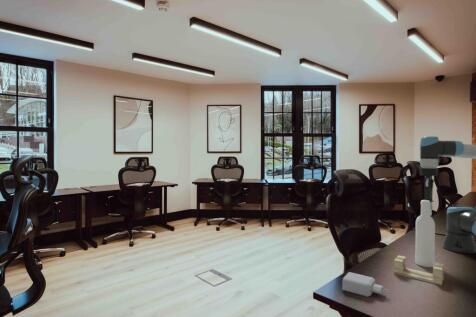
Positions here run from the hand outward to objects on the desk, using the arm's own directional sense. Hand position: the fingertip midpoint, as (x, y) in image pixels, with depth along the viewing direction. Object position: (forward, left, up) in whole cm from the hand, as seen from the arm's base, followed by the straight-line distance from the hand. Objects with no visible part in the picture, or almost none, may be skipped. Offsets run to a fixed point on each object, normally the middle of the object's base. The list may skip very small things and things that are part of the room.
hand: (428, 214), depth 148 cm
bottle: (+8, +8, -22) cm, 24 cm away
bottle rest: (+20, +21, -22) cm, 36 cm away
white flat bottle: (+50, +32, -22) cm, 63 cm away
